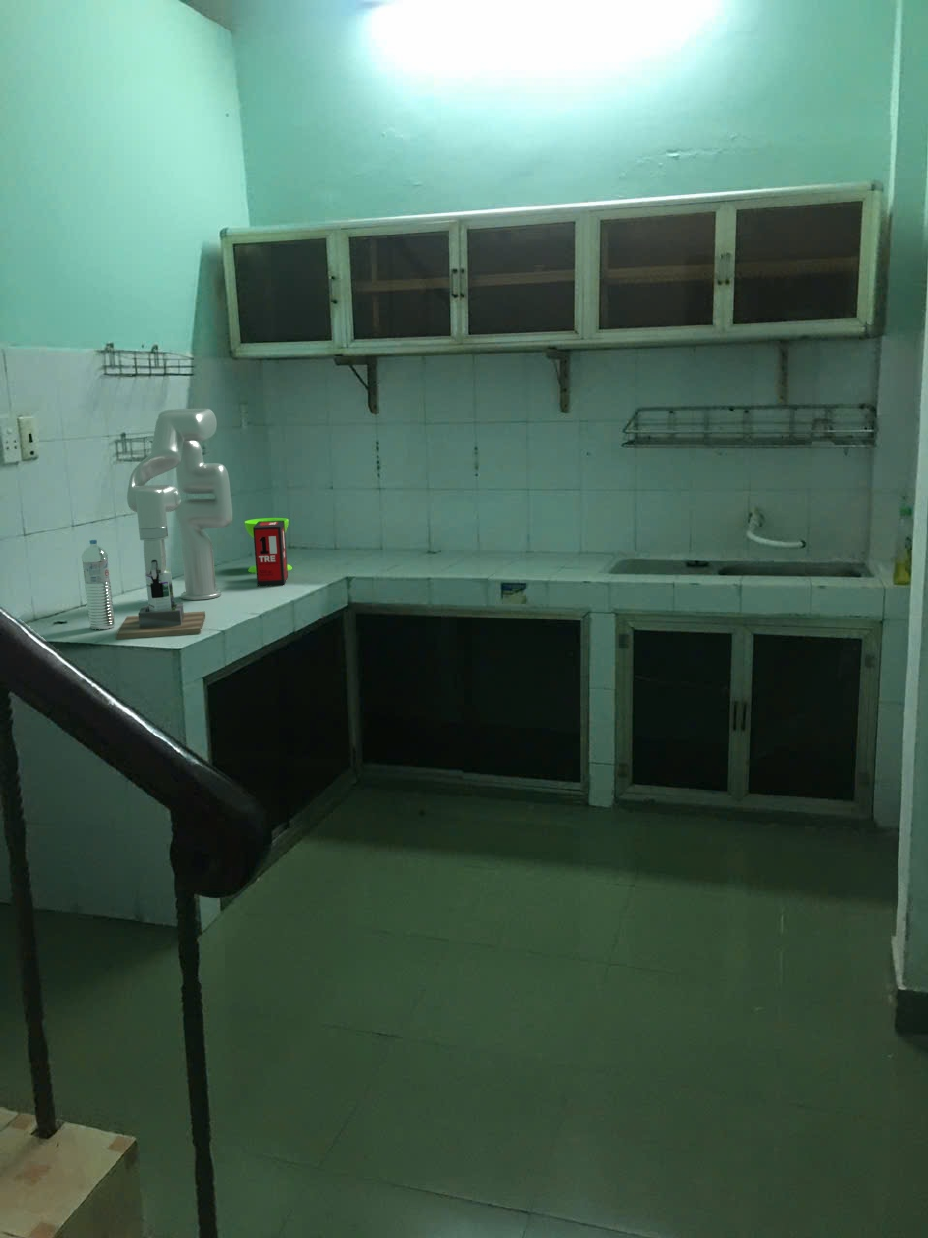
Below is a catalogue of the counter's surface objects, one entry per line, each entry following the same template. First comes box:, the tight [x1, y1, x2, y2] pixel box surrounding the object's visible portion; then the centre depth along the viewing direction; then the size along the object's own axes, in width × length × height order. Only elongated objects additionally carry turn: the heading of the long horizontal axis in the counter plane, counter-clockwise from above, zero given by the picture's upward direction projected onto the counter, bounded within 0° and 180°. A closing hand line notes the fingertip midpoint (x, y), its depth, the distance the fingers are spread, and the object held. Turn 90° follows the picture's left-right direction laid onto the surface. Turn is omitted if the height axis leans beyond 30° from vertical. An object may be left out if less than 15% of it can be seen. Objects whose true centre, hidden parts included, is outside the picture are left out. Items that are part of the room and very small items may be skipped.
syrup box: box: [144, 569, 175, 612], centre depth 282 cm, size 6×6×14 cm
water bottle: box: [81, 539, 116, 631], centre depth 282 cm, size 7×7×25 cm
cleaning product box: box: [253, 521, 289, 588], centre depth 345 cm, size 16×9×20 cm, turn 5°
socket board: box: [115, 602, 206, 640], centre depth 283 cm, size 22×22×6 cm
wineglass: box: [244, 517, 293, 574], centre depth 369 cm, size 16×16×18 cm
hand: (159, 594), depth 281 cm, fingers open, 9 cm apart
